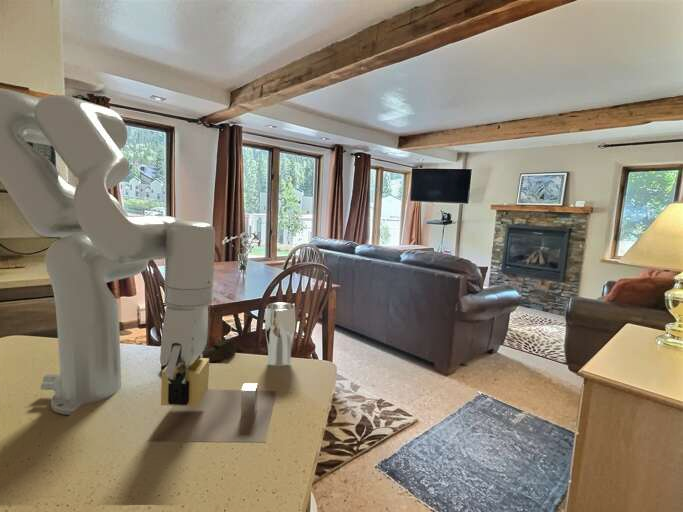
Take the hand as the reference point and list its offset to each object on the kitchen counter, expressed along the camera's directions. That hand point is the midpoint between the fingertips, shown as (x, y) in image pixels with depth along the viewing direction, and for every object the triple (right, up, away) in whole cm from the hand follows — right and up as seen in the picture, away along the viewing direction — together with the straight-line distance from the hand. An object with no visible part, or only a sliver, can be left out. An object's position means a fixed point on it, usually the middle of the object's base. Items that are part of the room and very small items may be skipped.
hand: (185, 392), depth 65 cm
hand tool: (-6, -2, +22) cm, 23 cm away
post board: (+6, -5, +1) cm, 8 cm away
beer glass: (+13, -3, +23) cm, 26 cm away
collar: (0, -1, 0) cm, 1 cm away
